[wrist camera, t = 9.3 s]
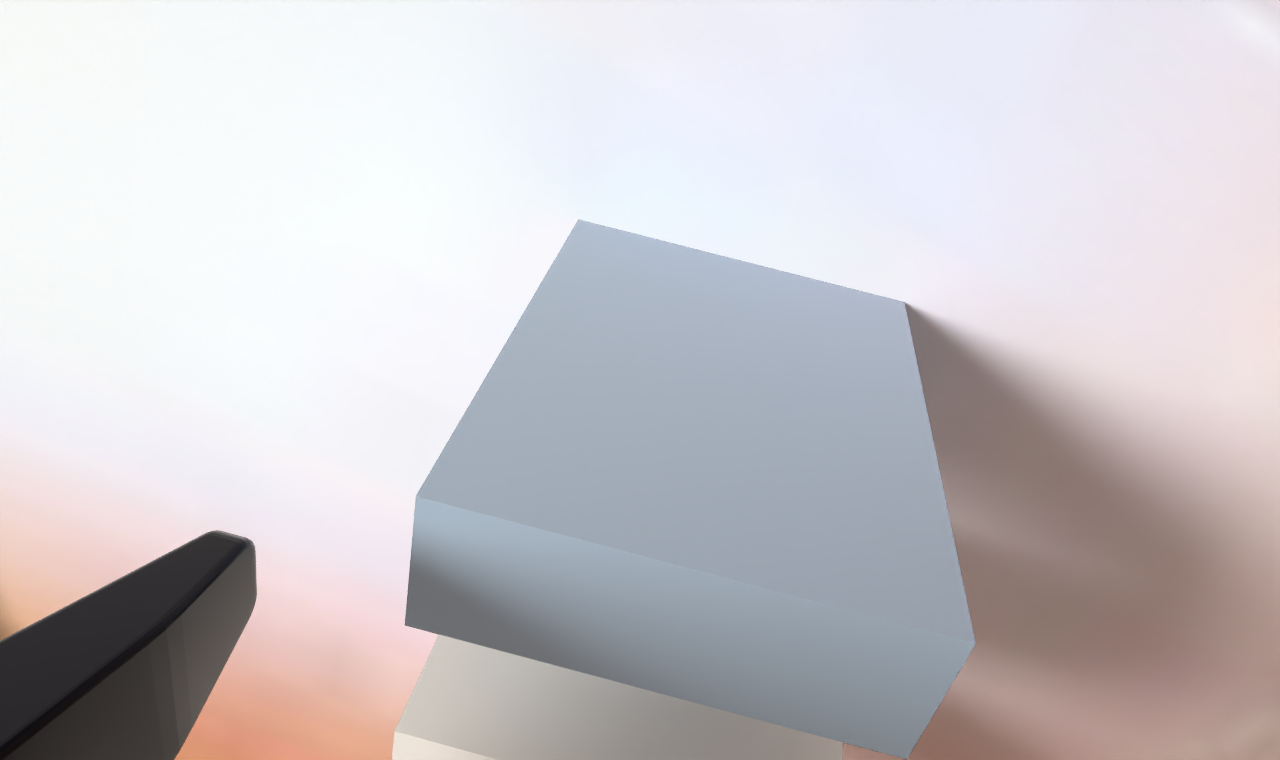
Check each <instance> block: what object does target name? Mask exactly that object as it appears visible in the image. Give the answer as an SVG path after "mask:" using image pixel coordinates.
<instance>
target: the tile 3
mask: <svg viewBox="0 0 1280 760" xmlns="http://www.w3.org/2000/svg"><path fill="white" fill-rule="evenodd" d="M392 760H843V742H840V741H836V740H832V739H829V738H825V737H821V736H817V735H814V734H810V733H806V732H802V731H799V730H795V729H791V728H787V727H784V726H780V725H776V724H772V723H769V722H765V721H761V720H757V719H754V718H750V717H746V716H742V715H739V714H735V713H731V712H728V711H724V710H720V709H716V708H713V707H709V706H705V705H701V704H698V703H694V702H690V701H686V700H683V699H679V698H675V697H671V696H668V695H664V694H660V693H656V692H653V691H649V690H645V689H641V688H638V687H634V686H630V685H627V684H623V683H619V682H615V681H612V680H608V679H604V678H600V677H597V676H593V675H589V674H585V673H582V672H578V671H574V670H570V669H567V668H563V667H559V666H555V665H552V664H548V663H544V662H540V661H537V660H533V659H529V658H526V657H522V656H518V655H514V654H511V653H507V652H503V651H499V650H496V649H492V648H488V647H484V646H481V645H477V644H473V643H469V642H466V641H462V640H458V639H454V638H451V637H447V636H443V635H438V637H437V640H436V642H435V644H434V646H433V648H432V651H431V653H430V655H429V657H428V659H427V662H426V664H425V666H424V668H423V670H422V673H421V675H420V677H419V679H418V681H417V684H416V686H415V688H414V690H413V692H412V694H411V697H410V699H409V701H408V703H407V705H406V708H405V710H404V712H403V714H402V716H401V719H400V721H399V723H398V725H397V727H396V730H395V733H394V744H393V754H392Z"/></svg>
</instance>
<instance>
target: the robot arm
mask: <svg viewBox="0 0 1280 760" xmlns="http://www.w3.org/2000/svg"><path fill="white" fill-rule="evenodd" d="M256 596H257V584H256V554H255V546H254V544H253V542H252V541H251V540H250V539H248V538H245V537H241V536H238V535H234V534H231V533H227V532H223V531H211V532H208V533H205V534H203V535H201V536H200V537H198V538H196V539H194V540H192V541H190V542H188V543H186V544H184V545H182V546H180V547H179V548H177V549H175V550H173V551H171V552H169V553H167V554H165V555H163V556H161V557H159V558H158V559H156V560H154V561H152V562H150V563H148V564H146V565H144V566H142V567H140V568H138V569H136V570H135V571H133V572H131V573H129V574H127V575H125V576H123V577H121V578H119V579H117V580H115V581H114V582H112V583H110V584H108V585H106V586H104V587H102V588H100V589H98V590H96V591H94V592H93V593H91V594H89V595H87V596H85V597H83V598H81V599H79V600H77V601H75V602H73V603H72V604H70V605H68V606H66V607H64V608H62V609H60V610H58V611H56V612H54V613H52V614H51V615H49V616H47V617H45V618H43V619H41V620H39V621H37V622H35V623H33V624H31V625H30V626H28V627H26V628H24V629H22V630H20V631H18V632H16V633H14V634H12V635H10V636H9V637H7V638H5V639H3V640H1V641H0V760H174V759H175V757H176V756H177V754H178V753H179V751H180V749H181V747H182V746H183V744H184V742H185V740H186V738H187V737H188V735H189V733H190V731H191V729H192V727H193V726H194V724H195V722H196V720H197V718H198V716H199V714H200V712H201V710H202V708H203V706H204V704H205V703H206V701H207V699H208V697H209V695H210V693H211V691H212V689H213V687H214V685H215V683H216V681H217V680H218V678H219V676H220V674H221V672H222V670H223V668H224V666H225V664H226V662H227V660H228V658H229V657H230V655H231V653H232V651H233V649H234V647H235V645H236V643H237V641H238V639H239V637H240V635H241V634H242V632H243V630H244V628H245V626H246V624H247V622H248V620H249V618H250V616H251V614H252V611H253V609H254V605H255V602H256Z"/></svg>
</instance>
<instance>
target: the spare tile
mask: <svg viewBox="0 0 1280 760" xmlns="http://www.w3.org/2000/svg"><path fill="white" fill-rule="evenodd" d="M405 625H406V626H410V627H413V628H417V629H421V630H425V631H428V632H432V633H436V634H439V635H443V636H447V637H451V638H454V639H458V640H462V641H466V642H469V643H473V644H477V645H481V646H484V647H488V648H492V649H496V650H499V651H503V652H507V653H511V654H514V655H518V656H522V657H526V658H529V659H533V660H537V661H540V662H544V663H548V664H552V665H555V666H559V667H563V668H567V669H570V670H574V671H578V672H582V673H585V674H589V675H593V676H597V677H600V678H604V679H608V680H612V681H615V682H619V683H623V684H627V685H630V686H634V687H638V688H641V689H645V690H649V691H653V692H656V693H660V694H664V695H668V696H671V697H675V698H679V699H683V700H686V701H690V702H694V703H698V704H701V705H705V706H709V707H713V708H716V709H720V710H724V711H728V712H731V713H735V714H739V715H742V716H746V717H750V718H754V719H757V720H761V721H765V722H769V723H772V724H776V725H780V726H784V727H787V728H791V729H795V730H799V731H802V732H806V733H810V734H814V735H817V736H821V737H825V738H829V739H832V740H836V741H840V742H843V743H847V744H851V745H855V746H858V747H862V748H866V749H870V750H873V751H877V752H881V753H885V754H888V755H892V756H896V757H900V758H903V759H907V758H908V757H909V755H910V753H911V752H912V750H913V748H914V747H915V745H916V743H917V742H918V740H919V738H920V737H921V735H922V733H923V732H924V730H925V728H926V727H927V725H928V723H929V721H930V720H931V718H932V716H933V715H934V713H935V711H936V710H937V708H938V706H939V705H940V703H941V701H942V700H943V698H944V696H945V695H946V693H947V691H948V690H949V688H950V686H951V685H952V683H953V681H954V679H955V678H956V676H957V674H958V673H959V671H960V669H961V668H962V666H963V664H964V663H965V661H966V659H967V658H968V656H969V654H970V653H971V651H972V649H973V648H974V646H975V644H976V642H975V637H974V632H973V627H972V623H971V618H970V613H969V608H968V604H967V599H966V594H965V589H964V584H963V580H962V575H961V570H960V565H959V560H958V556H957V551H956V546H955V541H954V537H953V532H952V527H951V522H950V517H949V513H948V508H947V503H946V498H945V494H944V489H943V484H942V479H941V474H940V470H939V465H938V460H937V455H936V451H935V446H934V441H933V436H932V431H931V427H930V422H929V417H928V412H927V408H926V403H925V398H924V393H923V388H922V384H921V379H920V374H919V369H918V364H917V360H916V355H915V350H914V345H913V341H912V336H911V331H910V326H909V321H908V317H907V312H906V307H905V302H902V301H898V300H894V299H890V298H886V297H882V296H878V295H874V294H870V293H866V292H862V291H858V290H854V289H850V288H846V287H843V286H839V285H835V284H831V283H827V282H823V281H819V280H815V279H811V278H807V277H803V276H799V275H795V274H791V273H787V272H783V271H779V270H776V269H772V268H768V267H764V266H760V265H756V264H752V263H748V262H744V261H740V260H736V259H732V258H728V257H724V256H720V255H716V254H713V253H709V252H705V251H701V250H697V249H693V248H689V247H685V246H681V245H677V244H673V243H669V242H665V241H661V240H657V239H653V238H649V237H646V236H642V235H638V234H634V233H630V232H626V231H622V230H618V229H614V228H610V227H606V226H602V225H598V224H594V223H590V222H586V221H583V220H579V219H578V221H577V223H576V225H575V226H574V228H573V230H572V231H571V233H570V235H569V236H568V238H567V240H566V242H565V243H564V245H563V247H562V248H561V250H560V252H559V253H558V255H557V257H556V259H555V260H554V262H553V264H552V265H551V267H550V269H549V270H548V272H547V274H546V276H545V277H544V279H543V281H542V282H541V284H540V286H539V288H538V289H537V291H536V293H535V294H534V296H533V298H532V299H531V301H530V303H529V305H528V306H527V308H526V310H525V311H524V313H523V315H522V316H521V318H520V320H519V322H518V323H517V325H516V327H515V328H514V330H513V332H512V333H511V335H510V337H509V339H508V340H507V342H506V344H505V345H504V347H503V349H502V351H501V352H500V354H499V356H498V357H497V359H496V361H495V362H494V364H493V366H492V368H491V369H490V371H489V373H488V374H487V376H486V378H485V379H484V381H483V383H482V385H481V386H480V388H479V390H478V391H477V393H476V395H475V397H474V398H473V400H472V402H471V403H470V405H469V407H468V408H467V410H466V412H465V414H464V415H463V417H462V419H461V420H460V422H459V424H458V425H457V427H456V429H455V431H454V432H453V434H452V436H451V437H450V439H449V441H448V442H447V444H446V446H445V448H444V449H443V451H442V453H441V454H440V456H439V458H438V460H437V461H436V463H435V465H434V466H433V468H432V470H431V471H430V473H429V475H428V477H427V478H426V480H425V482H424V483H423V485H422V487H421V488H420V490H419V492H418V494H417V495H416V502H415V513H414V525H413V537H412V548H411V560H410V572H409V583H408V595H407V606H406V618H405Z"/></svg>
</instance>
